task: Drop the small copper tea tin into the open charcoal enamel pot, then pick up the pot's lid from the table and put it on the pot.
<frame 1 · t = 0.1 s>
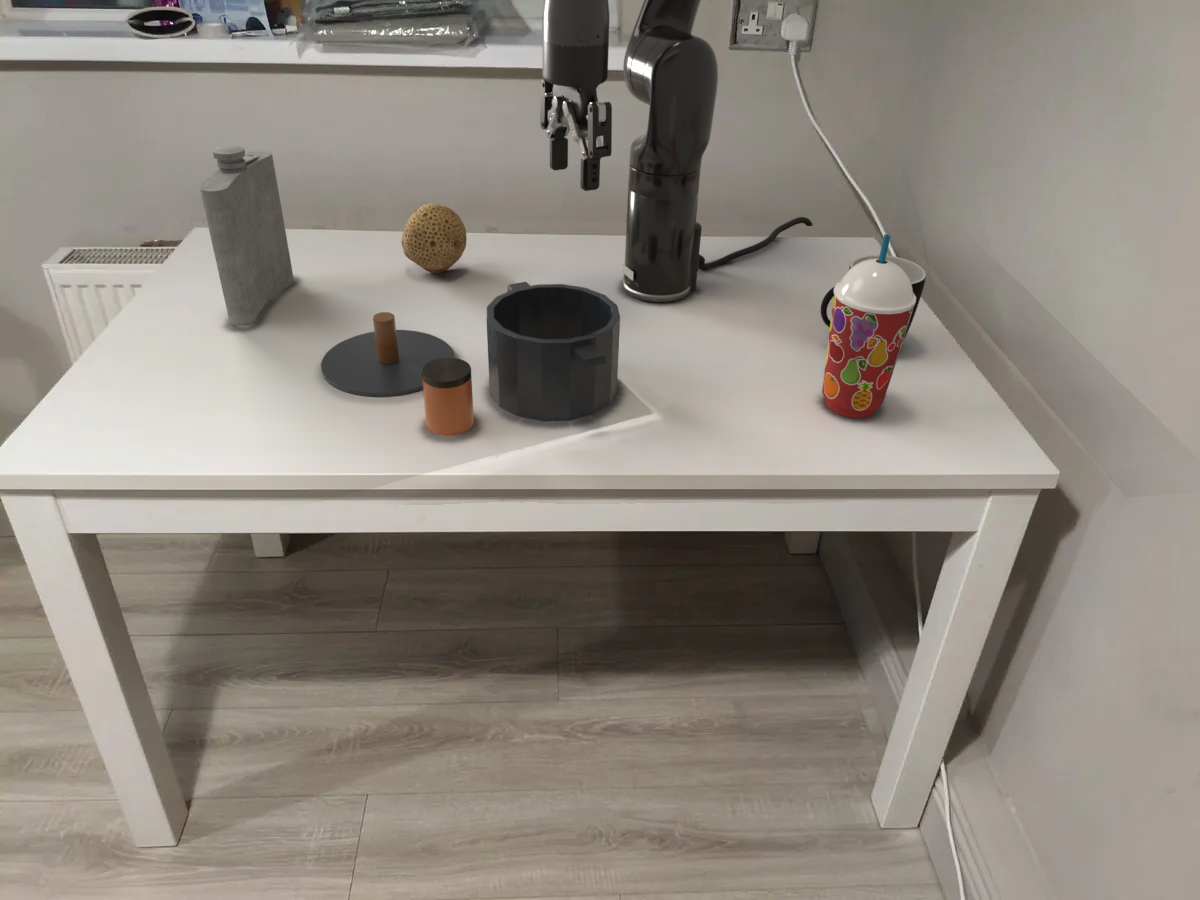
hand: (573, 178, 112), 17 cm above the table, tool pointing down, fingers open, 8 cm apart
mug: (859, 345, 115), on the table
pot: (553, 391, 104), on the table
pot lid: (389, 363, 107), point 1 cm above the table
natural sponge: (437, 276, 129), on the table
hip flask: (260, 303, 120), on the table
tea tin: (450, 426, 97), on the table
smoothie: (850, 406, 103), on the table
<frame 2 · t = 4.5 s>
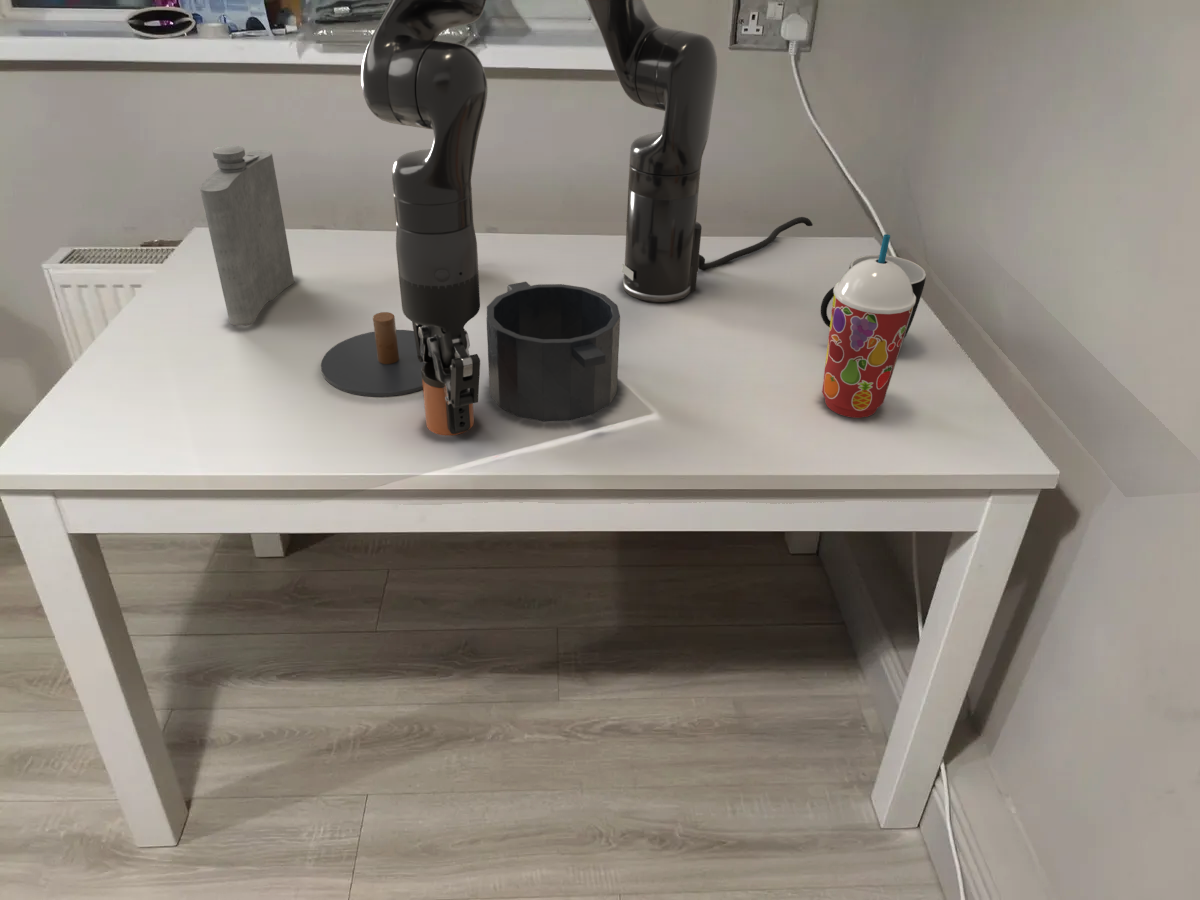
hand: (449, 416, 96), 1 cm above the table, tool pointing down, fingers closed on tea tin, 5 cm apart
tea tin: (450, 426, 97), on the table, touching gripper
everything else where it was.
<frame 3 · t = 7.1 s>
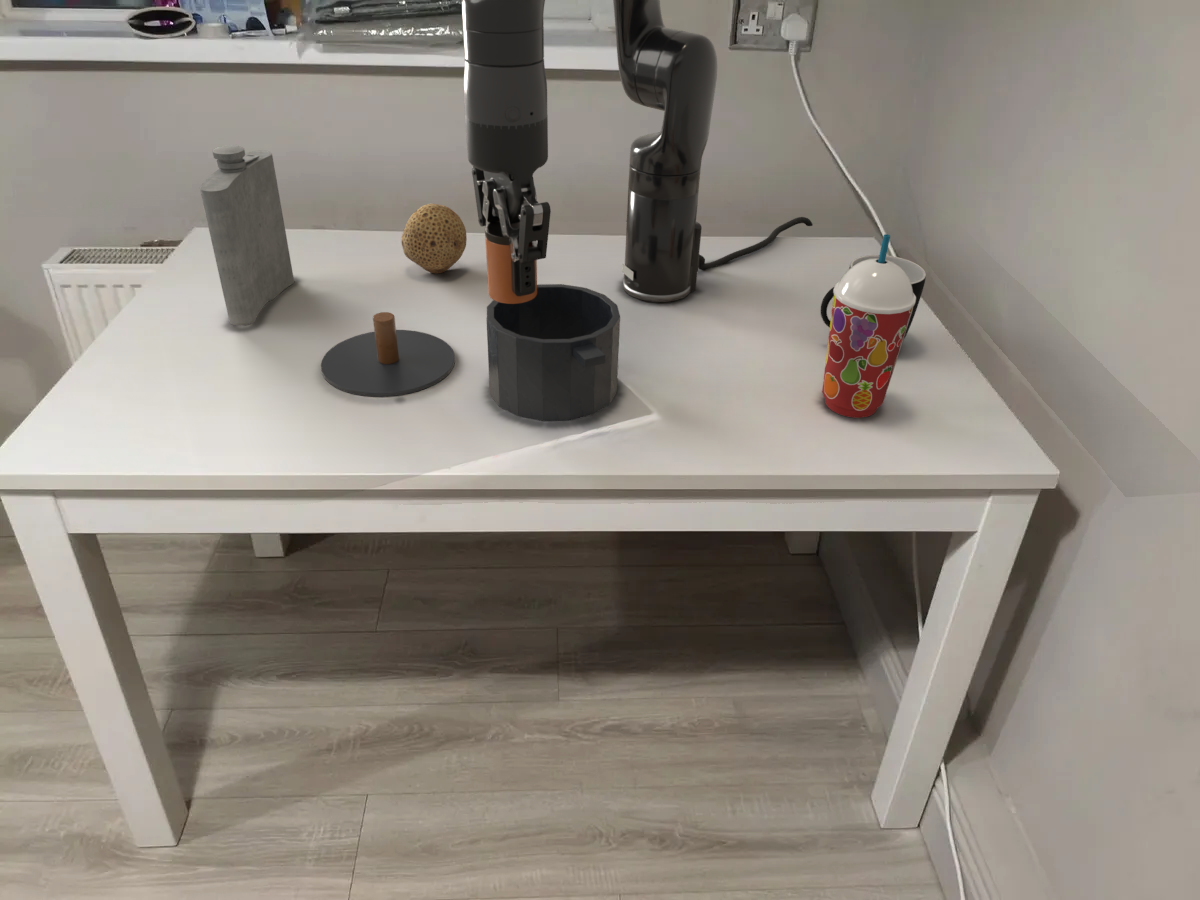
hand: (512, 282, 93), 14 cm above the table, tool pointing down, fingers closed on tea tin, 5 cm apart
tea tin: (512, 293, 94), point 13 cm above the table, touching gripper
everything else where it was.
when the fingers open (8 cm above the table, at t = 9.9 s): tea tin drops 7 cm, resting on pot.
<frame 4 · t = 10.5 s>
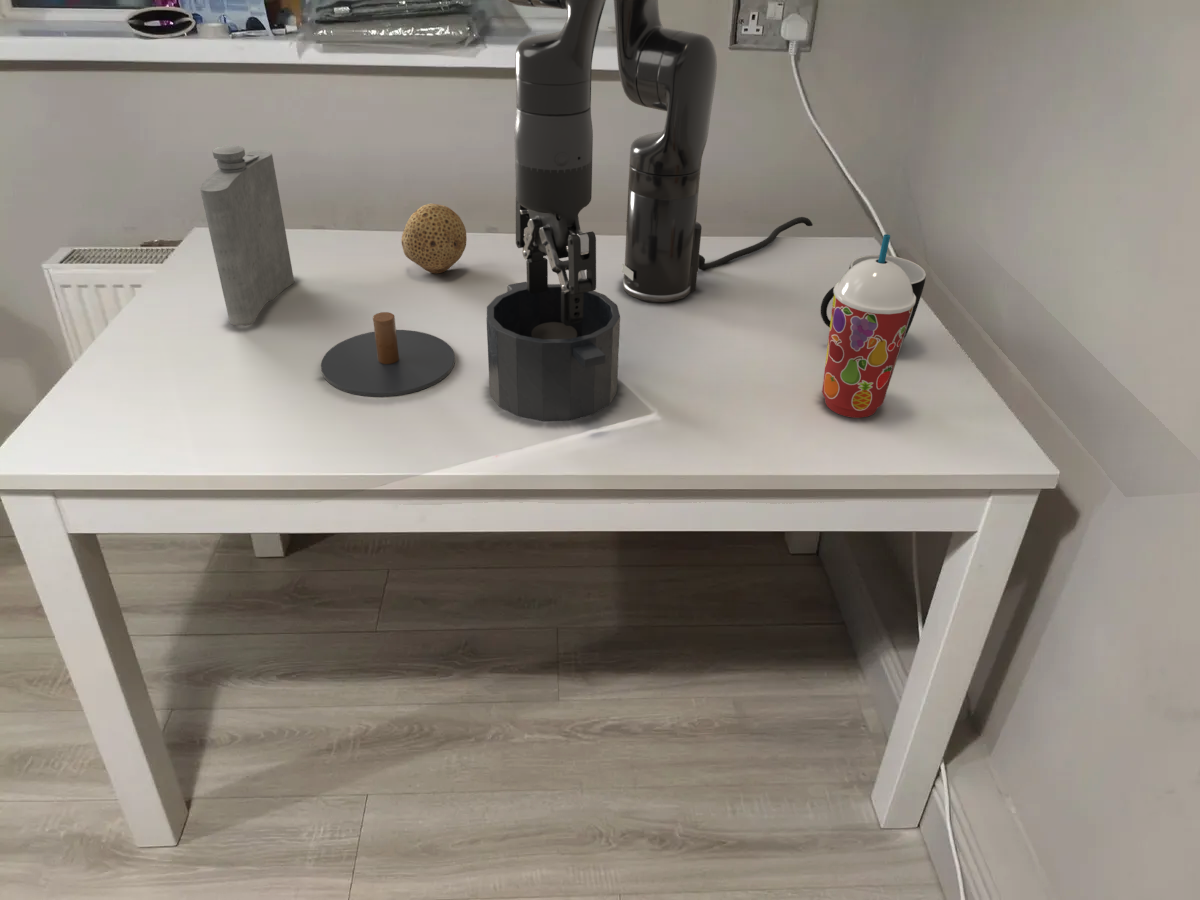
hand: (554, 306, 98), 10 cm above the table, tool pointing down, fingers open, 8 cm apart
tea tin: (553, 387, 103), point 1 cm above the table, touching pot
everything else where it was.
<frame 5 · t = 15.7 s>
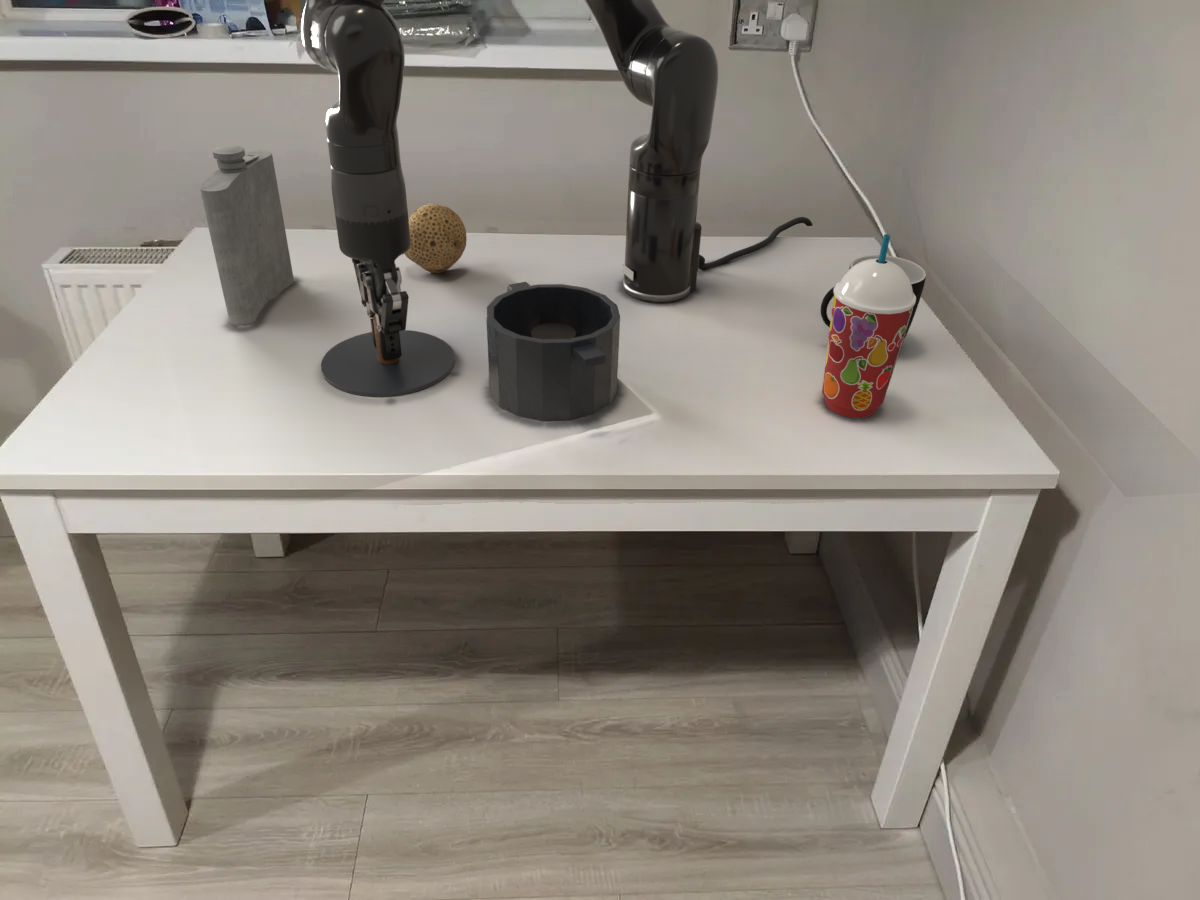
hand: (387, 351, 106), 2 cm above the table, tool pointing down, fingers closed on pot lid, 2 cm apart
pot lid: (389, 363, 107), point 1 cm above the table, touching gripper
everything else where it was.
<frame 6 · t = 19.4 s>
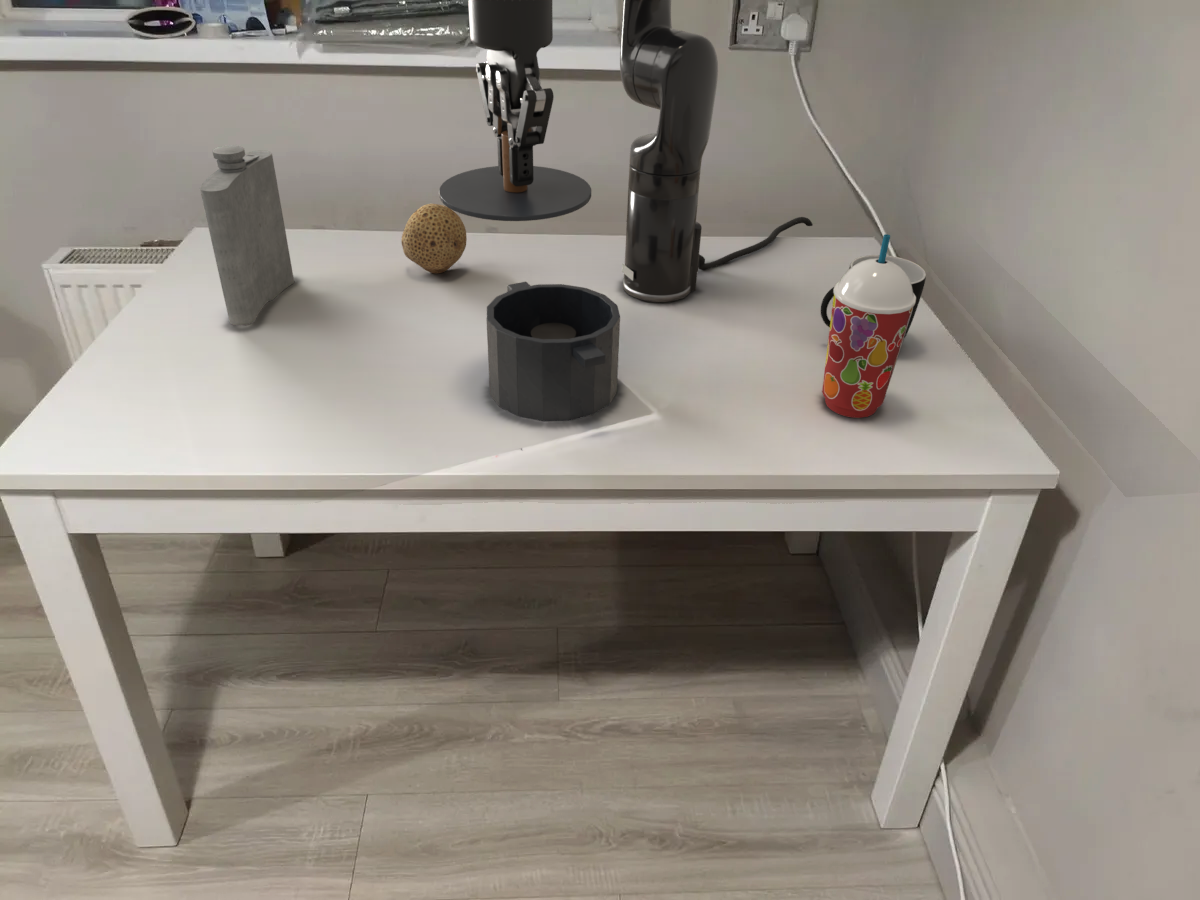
hand: (515, 178, 91), 24 cm above the table, tool pointing down, fingers closed on pot lid, 2 cm apart
pot lid: (515, 193, 92), point 22 cm above the table, touching gripper
everything else where it was.
when the fingers open (11 cm above the table, at t = 22.9 s): pot lid stays where it is, resting on pot.
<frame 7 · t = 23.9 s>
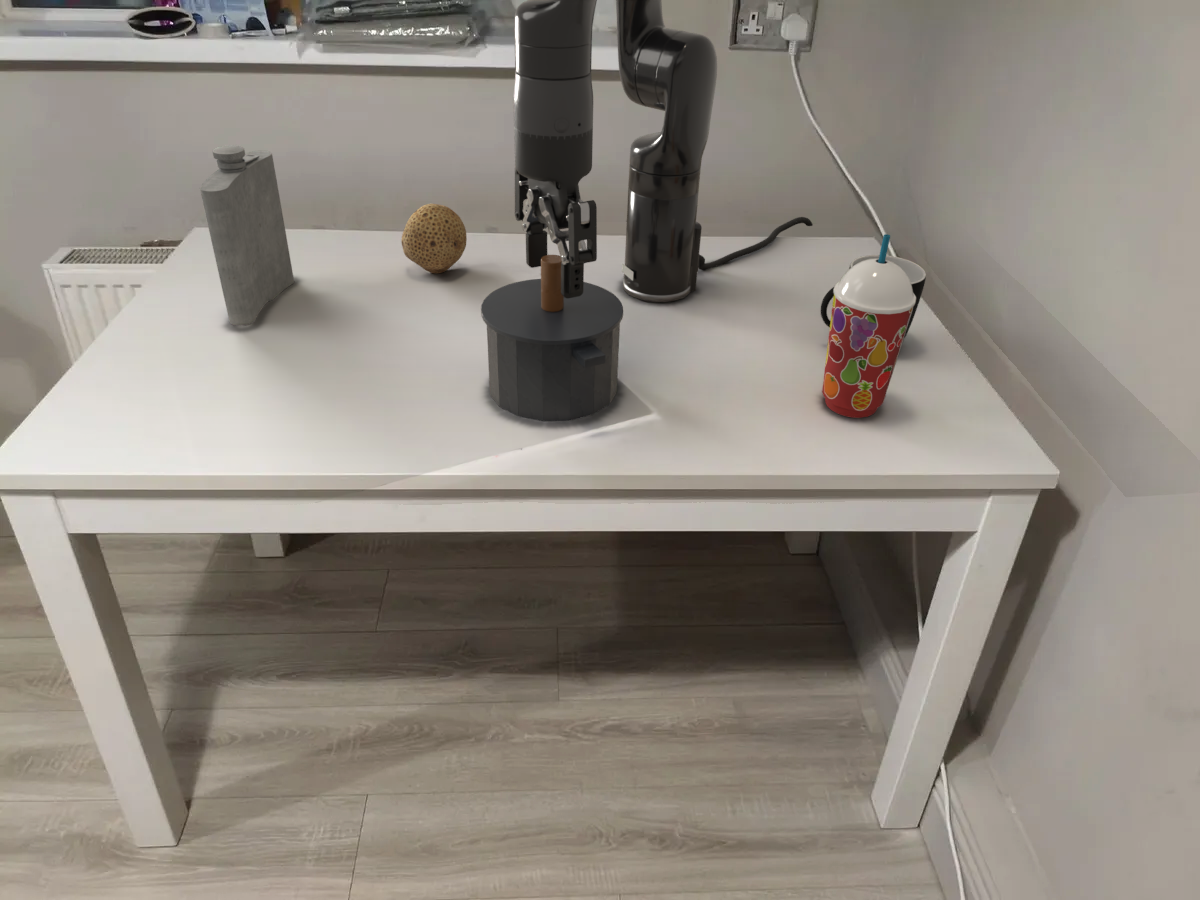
hand: (553, 280, 96), 14 cm above the table, tool pointing down, fingers open, 8 cm apart
pot lid: (552, 311, 98), point 10 cm above the table, touching pot
everything else where it was.
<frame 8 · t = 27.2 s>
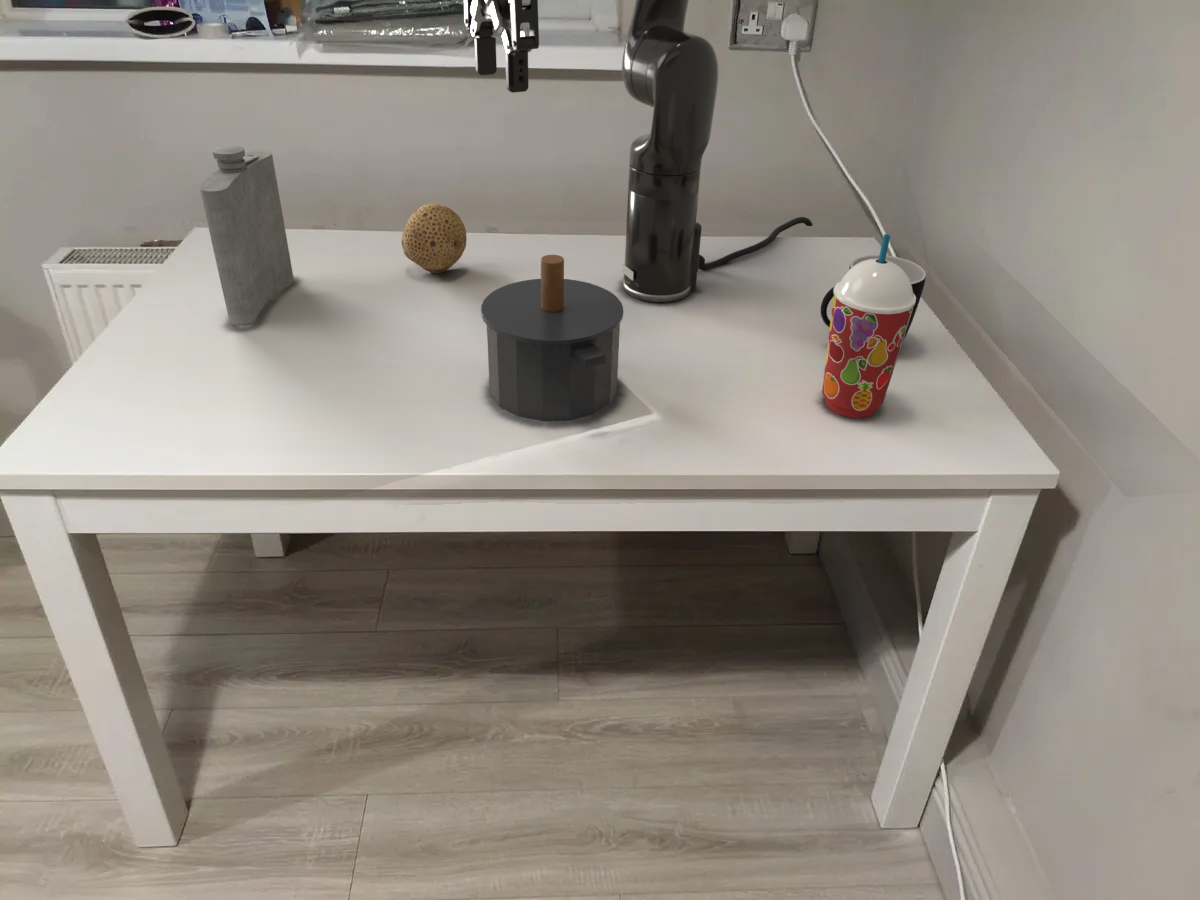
hand: (501, 82, 98), 30 cm above the table, tool pointing down, fingers open, 8 cm apart
nothing on the table moved.
at the end: tea tin inside the target area in the pot (0.1 cm from its centre), point 0.4 cm above the pot's base; pot lid 0.1 cm off-centre on the pot, point 9.9 cm above the pot's base; pot lid tilted 0° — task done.
